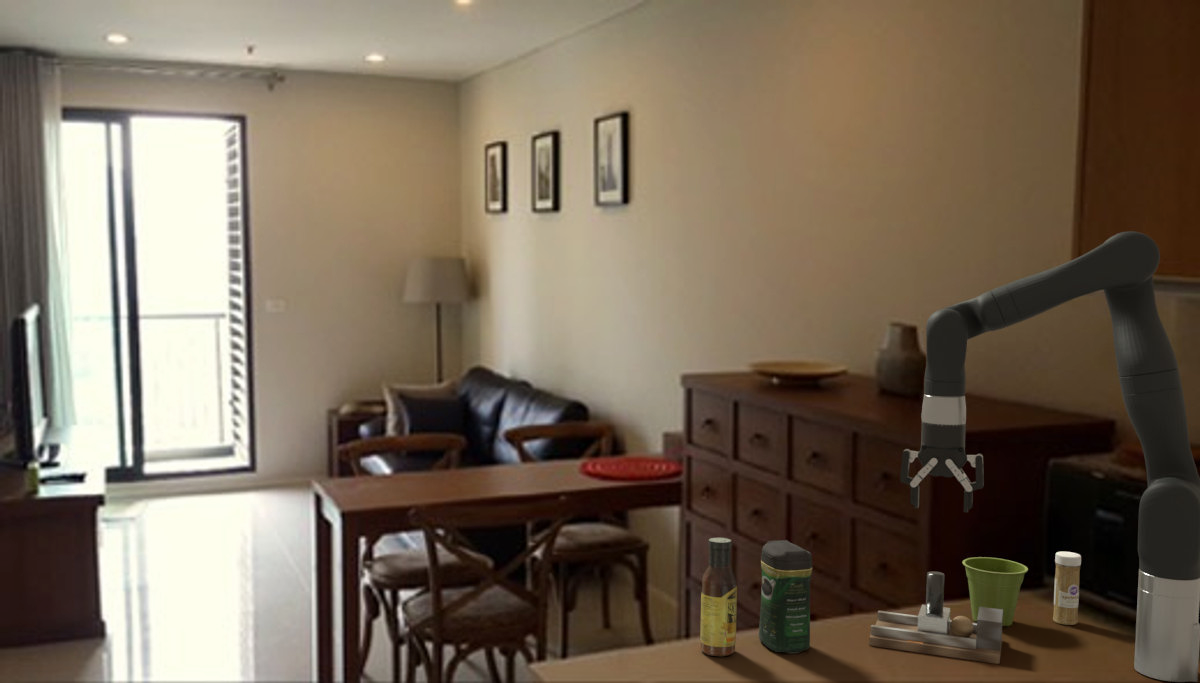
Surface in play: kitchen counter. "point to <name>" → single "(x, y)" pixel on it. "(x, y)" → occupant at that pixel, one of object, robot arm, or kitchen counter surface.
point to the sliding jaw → (934, 607)
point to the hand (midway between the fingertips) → (940, 509)
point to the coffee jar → (785, 597)
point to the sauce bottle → (718, 601)
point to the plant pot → (994, 585)
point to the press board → (941, 636)
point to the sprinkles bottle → (1066, 588)
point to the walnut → (961, 627)
